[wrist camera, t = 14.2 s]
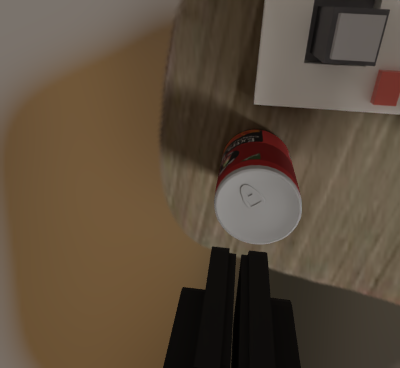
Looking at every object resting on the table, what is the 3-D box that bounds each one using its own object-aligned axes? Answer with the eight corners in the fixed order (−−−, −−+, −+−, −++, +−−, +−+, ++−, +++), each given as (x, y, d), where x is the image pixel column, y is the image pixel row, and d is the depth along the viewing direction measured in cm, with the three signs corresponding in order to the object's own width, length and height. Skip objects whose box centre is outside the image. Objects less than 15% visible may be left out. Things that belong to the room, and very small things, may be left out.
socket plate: (439, -57, 29) (461, -64, 26) (390, 108, 36) (403, 117, 33) (271, -61, 30) (273, -68, 27) (253, 98, 37) (254, 107, 34)
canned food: (253, 112, 38) (254, 150, 28) (305, 158, 39) (323, 209, 30) (208, 160, 41) (195, 208, 31) (257, 201, 43) (260, 259, 33)
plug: (363, 8, 32) (394, 9, 25) (352, 54, 33) (378, 67, 27) (318, 6, 32) (336, 6, 25) (309, 52, 34) (325, 64, 27)
